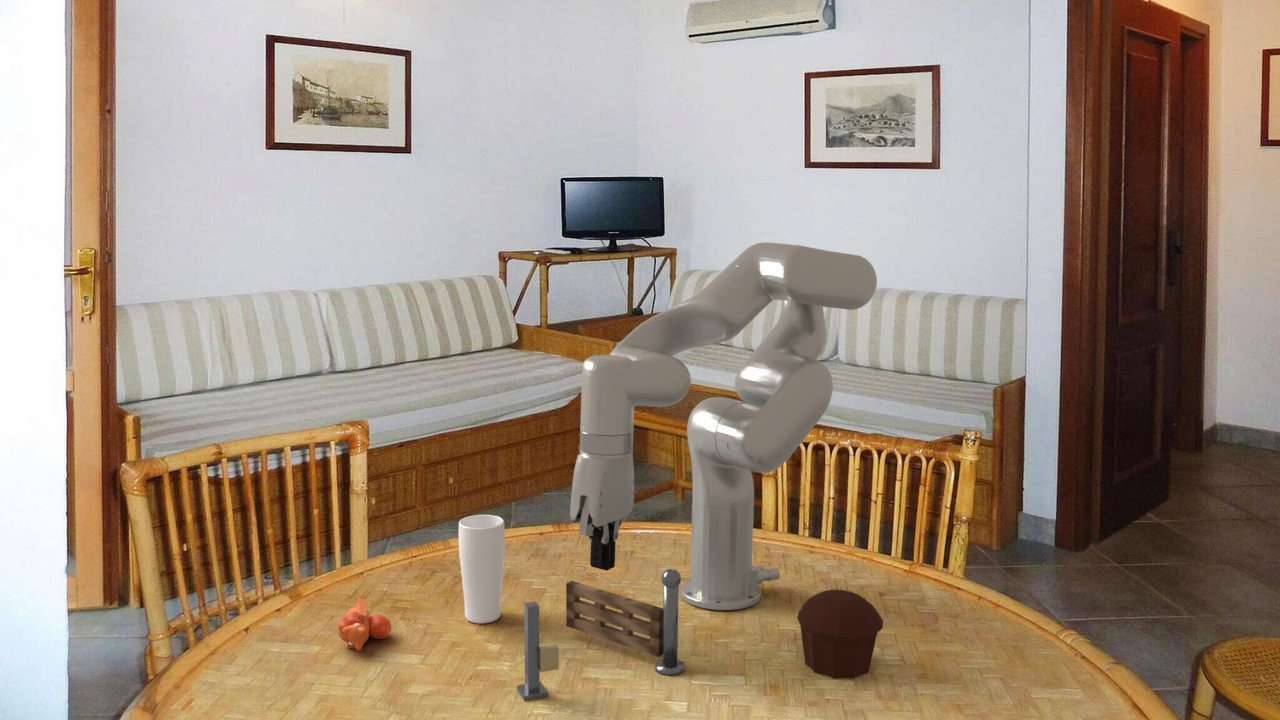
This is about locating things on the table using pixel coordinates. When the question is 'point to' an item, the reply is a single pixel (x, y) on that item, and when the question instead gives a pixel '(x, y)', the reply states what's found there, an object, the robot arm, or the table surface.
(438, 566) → the table surface
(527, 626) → the post
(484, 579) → the drinking glass
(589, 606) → the gate
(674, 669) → the hinge post
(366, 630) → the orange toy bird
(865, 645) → the muffin
